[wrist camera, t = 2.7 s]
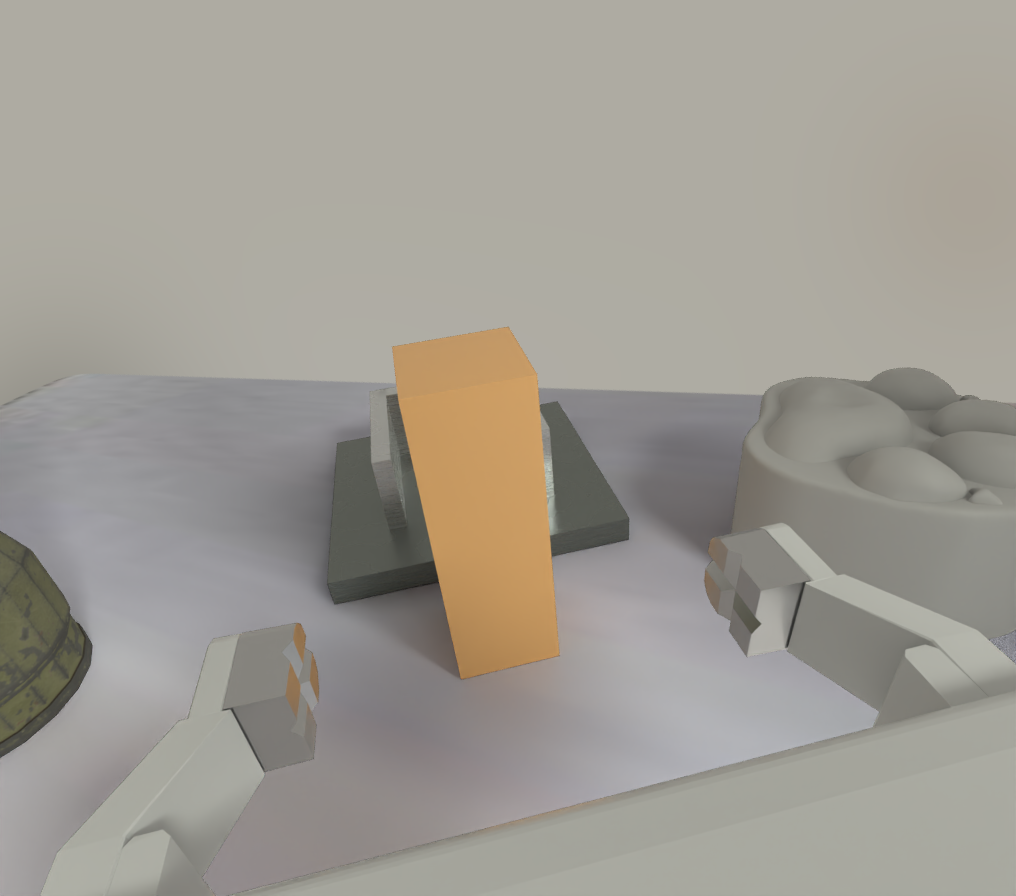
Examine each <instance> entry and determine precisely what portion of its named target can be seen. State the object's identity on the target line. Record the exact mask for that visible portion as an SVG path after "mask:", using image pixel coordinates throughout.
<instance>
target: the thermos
mask: <svg viewBox="0 0 1016 896" xmlns="http://www.w3.org/2000/svg"><path fill="white" fill-rule="evenodd" d="M91 654H92V644H91V642H90V640H89V638H88V636H87V635H86V633H85V631H84V630H83V628H82V627H81V626H80V624H79V623H77V622H75V620H74V619H73V618H72V616H71V615H70V607H69V605H68V603H67V601H66V599H65V597H64V595H63V594H62V592H61V591H60V589H59V588H58V587H57V585H56V584H55V582H54V581H53V580H52V578H51V577H50V575H49V574H48V573H47V571H46V570H45V568H44V567H43V566H42V564H41V563H40V561H39V560H38V559H37V557H36V556H35V554H34V553H33V552H32V551H31V550H30V549H29V548H27V547H26V546H24V545H22V544H21V543H19V542H17V541H16V540H14V539H13V538H11V537H9V536H8V535H6V534H4V533H3V532H1V531H0V757H2V756H4V755H5V754H7V753H8V752H10V751H11V750H13V749H15V748H16V747H18V746H19V745H21V744H22V743H24V742H26V741H27V740H28V739H29V738H30V737H31V736H33V735H34V734H35V733H36V732H37V731H38V730H40V729H41V728H42V727H43V726H44V725H45V724H46V723H48V722H49V721H50V720H51V719H52V718H53V717H55V716H56V715H57V714H58V712H59V711H60V710H61V709H62V708H63V706H64V705H65V704H66V703H67V702H68V700H69V699H70V698H71V697H72V696H73V694H74V693H75V692H76V691H77V690H78V688H79V686H80V684H81V682H82V680H83V678H84V676H85V674H86V672H87V671H88V669H89V667H90V664H91Z"/></svg>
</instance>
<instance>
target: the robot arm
mask: <svg viewBox="0 0 1016 896" xmlns="http://www.w3.org/2000/svg"><path fill="white" fill-rule="evenodd" d="M708 553H709V555H710V556H711V558H712V559H713V560H712V562H711V563H710V564H709V565H708V566H707V568H706V569H705V579H704V582H705V587H706V592H707V596H708V598H709V600H710V603H711V605H712V606H713V608H714V609H715V611H716V612H717V614H719V615H721V616H723V617H724V618H726V619H728V620H730V627H729V632H730V633H731V635H732V636H733V638H734V639H735V641H736V642H737V644H738V645H739V647H740V648H741V650H742V651H743V652H744V654H745V655H746V657H751V656H755V655H760V654H765V653H770V652H775V651H780V650H785V649H787V651H788V652H789V653H791V654H792V655H794V656H795V657H797V658H798V659H800V660H801V661H803V662H804V663H806V664H807V665H809V666H810V667H812V668H813V669H815V670H817V671H818V672H820V673H821V674H823V675H824V676H826V677H827V678H829V679H830V680H832V681H833V682H835V683H836V684H838V685H839V686H841V687H842V688H844V689H845V690H847V691H849V692H850V693H852V694H853V695H855V696H856V697H858V698H859V699H861V700H862V701H864V702H865V703H867V704H868V705H870V706H871V707H873V708H874V709H876V710H877V711H879V713H878V716H877V718H876V720H875V723H874V725H873V727H872V728H869V729H865V730H861V731H857V732H854V733H850V734H846V735H842V736H838V737H834V738H831V739H827V740H823V741H819V742H815V743H811V744H807V745H804V746H800V747H796V748H792V749H788V750H784V751H781V752H777V753H773V754H769V755H765V756H761V757H758V758H754V759H750V760H746V761H742V762H738V763H735V764H731V765H727V766H723V767H719V768H715V769H712V770H708V771H704V772H700V773H696V774H692V775H689V776H685V777H681V778H677V779H673V780H669V781H666V782H662V783H658V784H654V785H650V786H646V787H643V788H639V789H635V790H631V791H627V792H623V793H620V794H616V795H612V796H608V797H604V798H600V799H597V800H593V801H589V802H585V803H581V804H577V805H574V806H570V807H566V808H562V809H558V810H554V811H551V812H547V813H543V814H539V815H535V816H531V817H528V818H524V819H520V820H516V821H512V822H508V823H505V824H501V825H497V826H493V827H489V828H485V829H482V830H478V831H474V832H470V833H466V834H462V835H459V836H455V837H451V838H447V839H443V840H439V841H435V842H432V843H428V844H424V845H420V846H416V847H412V848H409V849H405V850H401V851H397V852H393V853H389V854H386V855H382V856H378V857H374V858H370V859H366V860H362V861H359V862H355V863H351V864H347V865H343V866H339V867H336V868H332V869H328V870H324V871H320V872H316V873H312V874H309V875H305V876H301V877H297V878H293V879H289V880H286V881H282V882H278V883H274V884H270V885H266V886H263V887H259V888H255V889H251V890H247V891H243V892H239V893H236V894H232V895H228V896H1016V664H1015V663H1014V662H1013V661H1012V660H1011V659H1009V658H1008V657H1007V656H1006V655H1005V654H1004V653H1003V652H1002V651H1000V650H999V649H998V648H997V647H996V646H995V645H994V644H993V643H991V642H990V641H989V640H988V639H987V638H986V637H985V636H984V635H982V634H981V633H980V632H979V631H978V630H976V629H973V628H971V627H969V626H966V625H964V624H961V623H959V622H957V621H954V620H952V619H950V618H947V617H945V616H942V615H940V614H938V613H935V612H933V611H931V610H928V609H926V608H923V607H921V606H919V605H916V604H914V603H912V602H909V601H907V600H904V599H902V598H900V597H897V596H895V595H892V594H890V593H888V592H885V591H883V590H881V589H878V588H876V587H873V586H871V585H869V584H866V583H864V582H862V581H859V580H857V579H854V578H852V577H850V576H847V575H845V574H843V575H836V574H835V573H834V572H833V571H832V570H831V569H830V568H829V567H828V566H827V565H826V563H825V562H824V561H823V560H822V559H821V558H820V557H819V556H818V555H817V554H816V553H815V552H814V551H813V550H812V549H811V548H810V547H809V546H808V545H807V544H806V543H805V542H804V541H803V540H802V539H801V538H800V537H799V536H798V535H797V534H796V533H795V532H794V531H793V530H792V529H791V528H790V527H789V526H788V525H786V524H784V523H778V524H773V525H769V526H764V527H759V528H755V529H750V530H745V531H741V532H736V533H731V534H727V535H722V536H717V537H713V538H712V540H711V541H710V543H709V548H708ZM305 640H306V635H305V633H304V630H303V628H302V626H301V624H299V623H294V624H288V625H283V626H277V627H272V628H266V629H261V630H255V631H249V632H244V633H242V634H236V635H230V636H225V637H219V638H214V639H213V640H212V642H211V643H210V644H209V646H208V648H207V652H206V655H205V659H204V662H203V666H202V669H201V673H200V677H199V680H198V684H197V687H196V691H195V694H194V698H193V701H192V705H191V708H190V712H189V716H188V719H184V720H180V721H178V722H177V723H176V724H175V725H174V726H173V727H172V729H171V730H170V731H169V732H168V733H167V734H166V735H165V736H164V737H163V738H162V739H161V741H160V742H159V743H158V744H157V745H156V746H155V747H154V748H153V749H152V750H151V751H150V752H149V754H148V755H147V756H146V757H145V758H144V759H143V760H142V761H141V762H140V763H139V764H138V765H137V767H136V768H135V769H134V770H133V771H132V772H131V773H130V774H129V775H128V776H127V777H126V778H125V780H124V781H123V782H122V783H121V784H120V785H119V786H118V787H117V788H116V789H115V790H114V791H113V793H112V794H111V795H110V796H109V797H108V798H107V799H106V800H105V801H104V802H103V803H102V804H101V806H100V807H99V808H98V809H97V810H96V811H95V812H94V813H93V814H92V815H91V816H90V817H89V819H88V820H87V821H86V822H85V823H84V824H83V825H82V826H81V827H80V828H79V829H78V830H77V832H76V833H75V834H74V835H73V836H72V837H71V838H70V839H69V840H68V841H67V842H66V843H65V845H64V846H63V847H62V848H61V849H60V850H59V851H58V852H57V855H56V857H55V859H54V862H53V864H52V867H51V869H50V872H49V874H48V877H47V879H46V882H45V884H44V887H43V889H42V892H41V894H40V896H216V895H215V894H214V893H213V892H212V890H211V889H210V888H209V886H208V885H207V884H206V882H205V881H204V880H203V878H202V877H203V875H204V874H205V872H206V871H207V869H208V867H209V866H210V864H211V862H212V861H213V859H214V857H215V856H216V854H217V853H218V851H219V849H220V848H221V846H222V844H223V843H224V841H225V840H226V838H227V836H228V835H229V833H230V831H231V830H232V828H233V827H234V825H235V823H236V822H237V820H238V818H239V817H240V815H241V814H242V812H243V810H244V809H245V807H246V805H247V804H248V802H249V801H250V799H251V797H252V796H253V794H254V792H255V791H256V789H257V788H258V786H259V784H260V783H261V781H262V779H263V778H264V776H265V773H264V772H267V771H271V770H274V769H278V768H282V767H286V766H289V765H293V764H297V763H301V762H305V761H308V760H312V759H314V750H315V738H316V722H315V720H314V717H313V715H312V710H313V709H314V708H315V706H316V705H317V704H318V697H319V682H318V671H317V667H316V662H315V659H314V656H313V653H312V652H311V651H309V650H307V649H305Z"/></svg>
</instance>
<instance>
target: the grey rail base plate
mask: <svg viewBox="0 0 1016 896" xmlns="http://www.w3.org/2000/svg"><path fill="white" fill-rule="evenodd" d="M540 417H541V430H542V442H543V455H544V468H545V480H546V493H547V505H548V518H549V530H550V543H551V556H556V555H560V554H565V553H569V552H574V551H578V550H583V549H587V548H592V547H596V546H601V545H605V544H610V543H615V542H619V541H624V540H628V539H629V517H628V516H627V514H626V512H625V511H624V509H623V507H622V506H621V504H620V503H619V501H618V499H617V498H616V496H615V494H614V493H613V491H612V490H611V488H610V486H609V485H608V483H607V481H606V480H605V478H604V476H603V475H602V473H601V472H600V470H599V468H598V467H597V465H596V463H595V462H594V460H593V459H592V457H591V455H590V454H589V452H588V450H587V449H586V447H585V445H584V444H583V442H582V441H581V439H580V437H579V436H578V434H577V432H576V431H575V429H574V428H573V426H572V424H571V423H570V421H569V419H568V418H567V416H566V415H565V413H564V411H563V410H562V408H561V406H560V405H559V403H558V401H557V402H552V403H547V404H541V405H540ZM370 428H371V437H367V438H361V439H356V440H351V441H346V442H340V443H337V453H336V467H335V481H334V495H333V509H332V523H331V537H330V551H329V565H328V580H327V585H328V587H329V590H330V593H331V595H332V598H333V601H334V604H339V603H344V602H348V601H353V600H357V599H362V598H366V597H371V596H375V595H380V594H384V593H389V592H393V591H398V590H402V589H407V588H411V587H416V586H420V585H425V584H429V583H434V582H438V581H439V579H438V575H437V570H436V566H435V561H434V557H433V552H432V548H431V544H430V539H429V535H428V530H427V526H426V521H425V517H424V512H423V508H422V503H421V499H420V495H419V490H418V486H417V481H416V477H415V472H414V468H413V463H412V459H411V455H410V450H409V446H408V441H407V437H406V432H405V428H404V423H403V419H402V415H401V410H400V406H399V401H398V394H397V387H392V388H386V389H381V390H375V391H370Z"/></svg>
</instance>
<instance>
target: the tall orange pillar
mask: <svg viewBox="0 0 1016 896" xmlns="http://www.w3.org/2000/svg"><path fill="white" fill-rule="evenodd" d="M392 349H393V358H394V367H395V376H396V385H397V394H398V401H399V406H400V410H401V415H402V419H403V423H404V428H405V432H406V437H407V441H408V446H409V450H410V455H411V459H412V463H413V468H414V472H415V477H416V481H417V486H418V490H419V495H420V499H421V503H422V508H423V512H424V517H425V521H426V526H427V530H428V535H429V539H430V544H431V548H432V552H433V557H434V561H435V566H436V570H437V575H438V579H439V584H440V588H441V592H442V597H443V601H444V606H445V610H446V615H447V619H448V624H449V628H450V632H451V637H452V641H453V646H454V650H455V655H456V659H457V664H458V668H459V673H460V677H461V679H465V678H470V677H474V676H478V675H482V674H486V673H490V672H494V671H498V670H503V669H507V668H511V667H515V666H519V665H523V664H527V663H531V662H535V661H540V660H544V659H548V658H552V657H556V656H559V644H558V631H557V618H556V606H555V593H554V581H553V568H552V556H551V543H550V530H549V518H548V505H547V493H546V480H545V468H544V455H543V442H542V430H541V417H540V405H539V392H538V380H537V373H536V372H535V370H534V368H533V367H532V365H531V363H530V362H529V360H528V358H527V357H526V355H525V354H524V352H523V350H522V348H521V347H520V345H519V343H518V342H517V340H516V338H515V337H514V335H513V334H512V332H511V330H510V328H509V327H504V328H498V329H493V330H487V331H481V332H475V333H469V334H463V335H457V336H452V337H446V338H440V339H434V340H428V341H423V342H417V343H411V344H405V345H399V346H393V347H392Z"/></svg>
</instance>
